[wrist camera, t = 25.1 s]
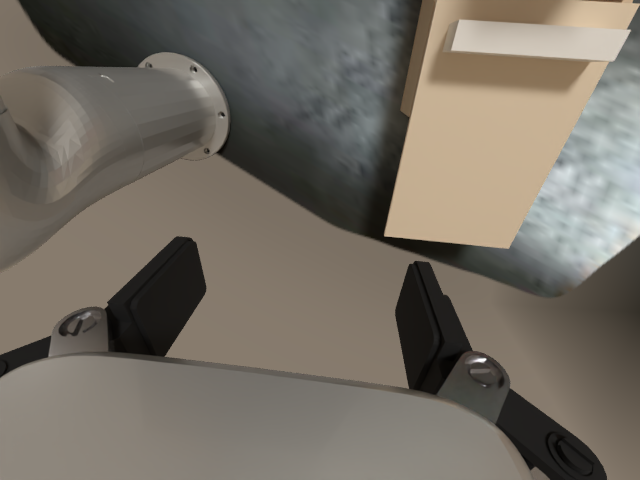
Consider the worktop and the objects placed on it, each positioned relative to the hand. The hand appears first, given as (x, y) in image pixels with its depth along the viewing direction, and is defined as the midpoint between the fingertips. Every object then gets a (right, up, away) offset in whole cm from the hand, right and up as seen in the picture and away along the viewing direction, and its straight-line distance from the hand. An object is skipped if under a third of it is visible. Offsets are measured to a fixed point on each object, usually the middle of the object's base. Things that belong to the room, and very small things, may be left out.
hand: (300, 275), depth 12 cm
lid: (+18, +12, +17) cm, 27 cm away
